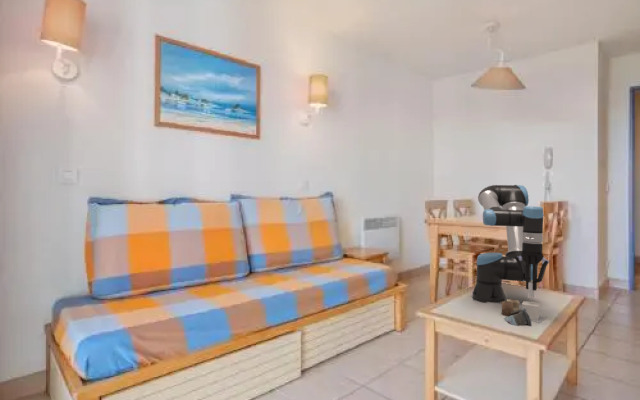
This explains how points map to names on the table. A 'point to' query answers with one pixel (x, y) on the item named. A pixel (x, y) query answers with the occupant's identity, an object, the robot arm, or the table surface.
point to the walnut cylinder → (507, 308)
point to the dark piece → (519, 318)
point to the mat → (539, 319)
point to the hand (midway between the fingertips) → (531, 297)
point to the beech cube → (514, 304)
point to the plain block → (531, 309)
